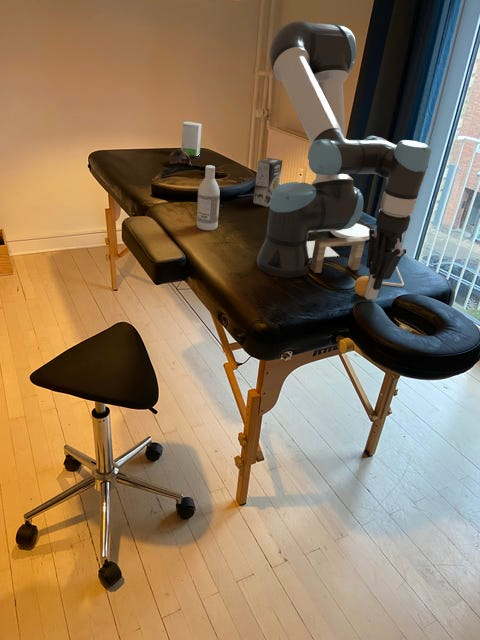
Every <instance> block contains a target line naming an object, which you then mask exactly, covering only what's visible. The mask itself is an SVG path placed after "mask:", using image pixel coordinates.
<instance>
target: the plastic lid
mask: <svg viewBox="0 0 480 640" xmlns="http://www.w3.org/2000/svg"><path fill="white" fill-rule="evenodd" d="M370 229H371V228H369V227H367V226H365V225H364V224H363V225H362V224H360V223H358V222H357V223H356V224H355V225H354V226H353V227H351V228H349V229H342V230H338V231H335V230H332V231H329V232H330V234H332V235H333V236H334V237H335V238H344V237H361V238H362V239H364V240H365V242H366V241H369V230H370Z"/></svg>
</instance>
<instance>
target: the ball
mask: <svg viewBox="0 0 480 640" xmlns="http://www.w3.org/2000/svg"><path fill="white" fill-rule="evenodd" d="M368 279H369V275H368V276H367V275H364V276H363V275H362V276H359V277H358V278H357V279H355V282H354V284H353V287H354V288H353V289H354V290H355V293H356V294H357V295H358V296H359V297H362V298H363V297H364V296H365V293H366V289H367V286H368ZM364 298H365V297H364Z"/></svg>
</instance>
